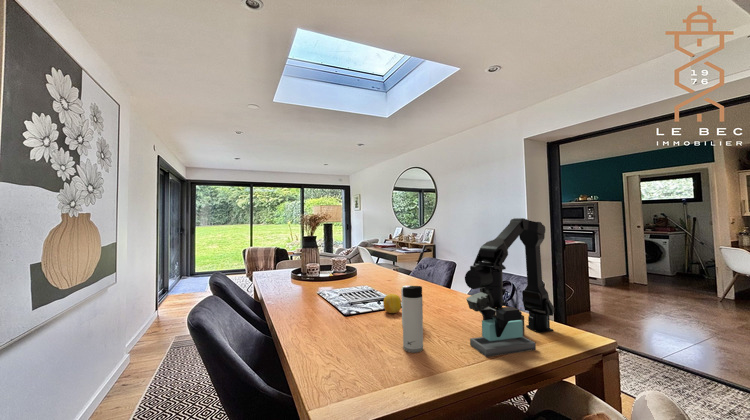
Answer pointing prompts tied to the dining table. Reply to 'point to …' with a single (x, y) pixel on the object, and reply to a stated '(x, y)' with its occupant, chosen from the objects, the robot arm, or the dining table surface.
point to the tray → (502, 346)
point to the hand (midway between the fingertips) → (493, 334)
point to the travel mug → (412, 319)
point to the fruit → (392, 303)
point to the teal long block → (510, 331)
